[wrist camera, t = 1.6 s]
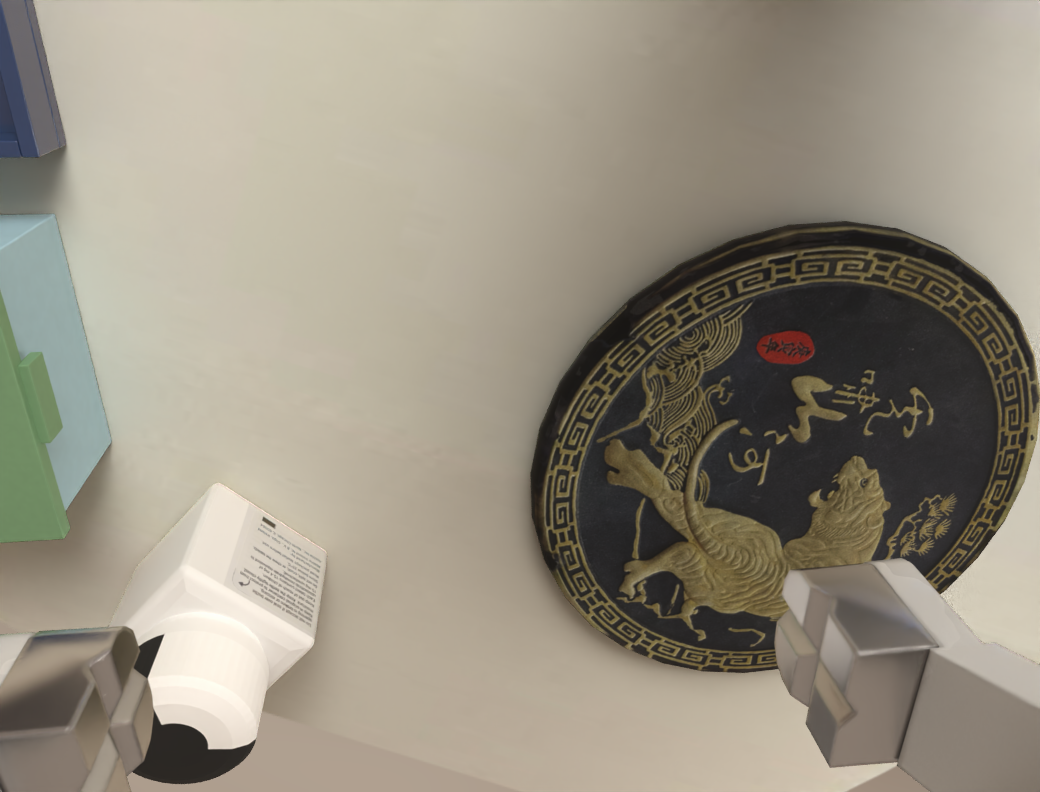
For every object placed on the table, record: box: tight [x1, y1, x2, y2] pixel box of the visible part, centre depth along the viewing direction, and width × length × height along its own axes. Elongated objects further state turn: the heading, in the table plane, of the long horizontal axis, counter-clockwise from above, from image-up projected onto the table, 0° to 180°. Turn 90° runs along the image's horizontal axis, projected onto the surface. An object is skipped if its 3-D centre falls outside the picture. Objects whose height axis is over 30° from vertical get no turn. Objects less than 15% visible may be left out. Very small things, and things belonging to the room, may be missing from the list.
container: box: [108, 483, 327, 784], centre depth 41 cm, size 8×8×13 cm
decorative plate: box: [531, 221, 1040, 673], centre depth 48 cm, size 30×2×30 cm
